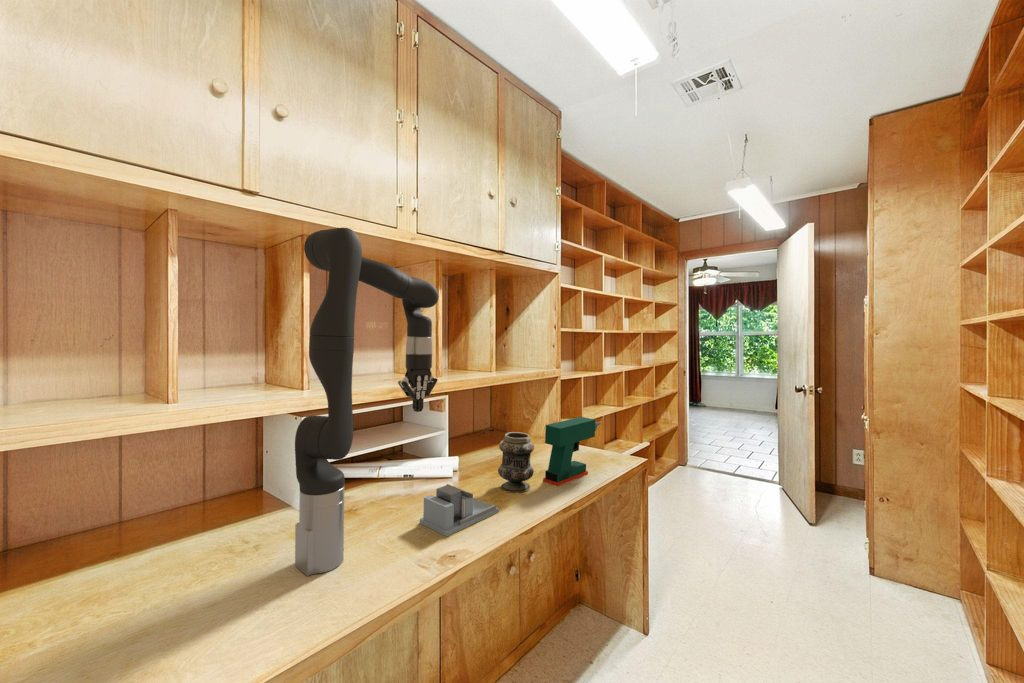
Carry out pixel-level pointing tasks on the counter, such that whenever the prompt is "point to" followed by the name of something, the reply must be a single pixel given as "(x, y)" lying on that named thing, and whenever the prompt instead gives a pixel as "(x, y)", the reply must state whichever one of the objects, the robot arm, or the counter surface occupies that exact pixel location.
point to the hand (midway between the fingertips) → (417, 411)
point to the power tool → (567, 449)
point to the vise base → (452, 515)
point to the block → (452, 499)
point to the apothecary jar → (516, 462)
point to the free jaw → (466, 503)
